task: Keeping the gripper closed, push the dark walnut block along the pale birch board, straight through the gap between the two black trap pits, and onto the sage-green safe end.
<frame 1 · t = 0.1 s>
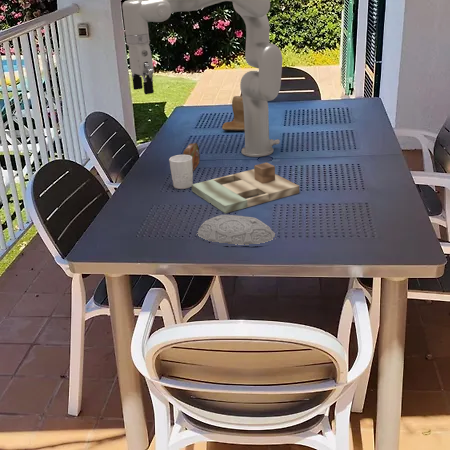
hand: (143, 91, 206), 31 cm above the table, tool pointing down, fingers open, 9 cm apart
walnut block: (264, 179, 203), point 2 cm above the table, touching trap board
brown l-shaped block: (241, 129, 270), on the table
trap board: (244, 192, 201), on the table
tin: (192, 168, 226), on the table
white cup: (183, 186, 210), on the table
embossed grey dome: (235, 237, 172), on the table
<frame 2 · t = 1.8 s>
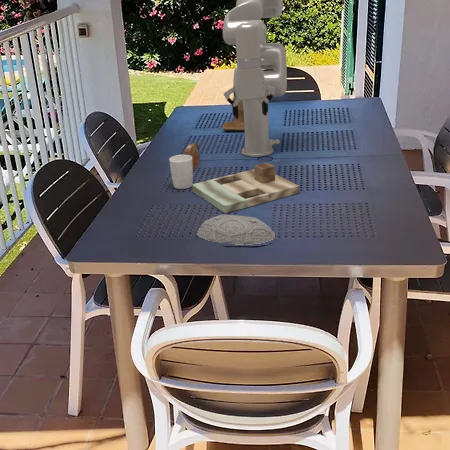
hand: (250, 116, 200), 23 cm above the table, tool pointing down, fingers open, 9 cm apart
nothing on the table moved.
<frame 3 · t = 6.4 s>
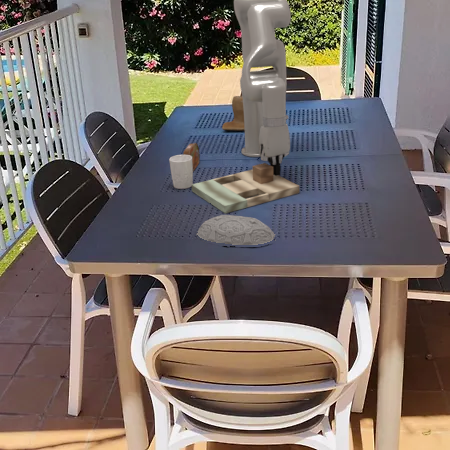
hand: (275, 174, 204), 4 cm above the table, tool pointing down, fingers closed
walnut block: (263, 180, 202), point 3 cm above the table, touching gripper
everything else where it was.
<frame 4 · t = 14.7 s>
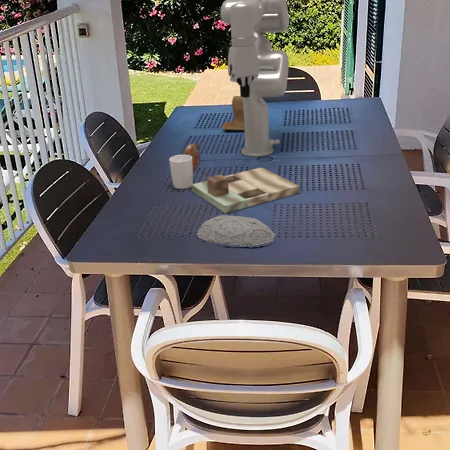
hand: (245, 96, 208), 27 cm above the table, tool pointing down, fingers closed
walnut block: (218, 192, 195), point 2 cm above the table, touching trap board
everything else where it was.
at the end: walnut block inside the target area on the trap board (1.3 cm from its centre), point 2.5 cm above the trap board's base; walnut block tilted 0°; walnut block moved 18.3 cm from its start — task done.
